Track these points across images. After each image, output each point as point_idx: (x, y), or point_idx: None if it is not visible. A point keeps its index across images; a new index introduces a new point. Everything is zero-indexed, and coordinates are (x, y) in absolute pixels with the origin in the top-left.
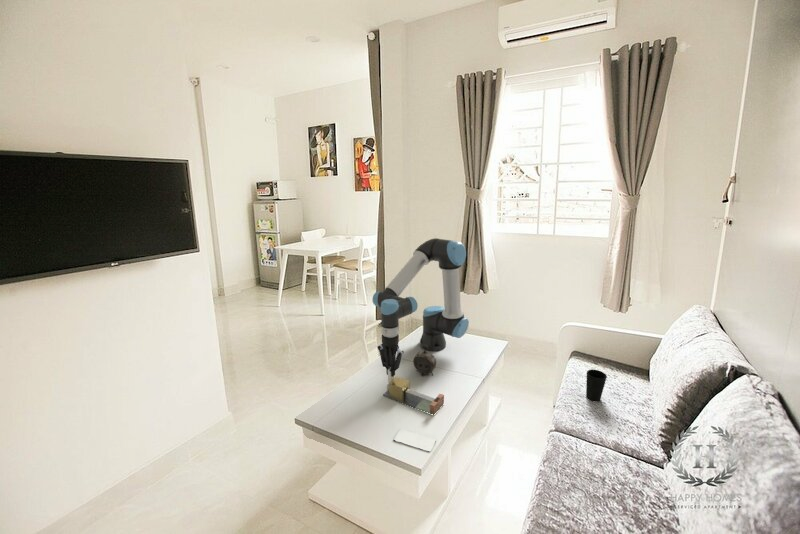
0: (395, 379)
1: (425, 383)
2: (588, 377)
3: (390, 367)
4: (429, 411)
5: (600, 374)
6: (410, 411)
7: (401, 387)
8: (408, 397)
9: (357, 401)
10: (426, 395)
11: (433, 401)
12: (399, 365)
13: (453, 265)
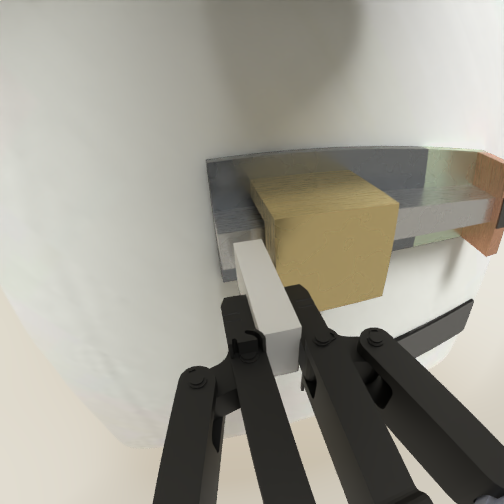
0: (293, 259)
1: (363, 16)
2: None
3: (310, 399)
4: (459, 230)
5: None
6: (395, 266)
7: (377, 294)
8: None
9: (161, 363)
10: (466, 201)
11: (495, 232)
12: (410, 354)
13: None
